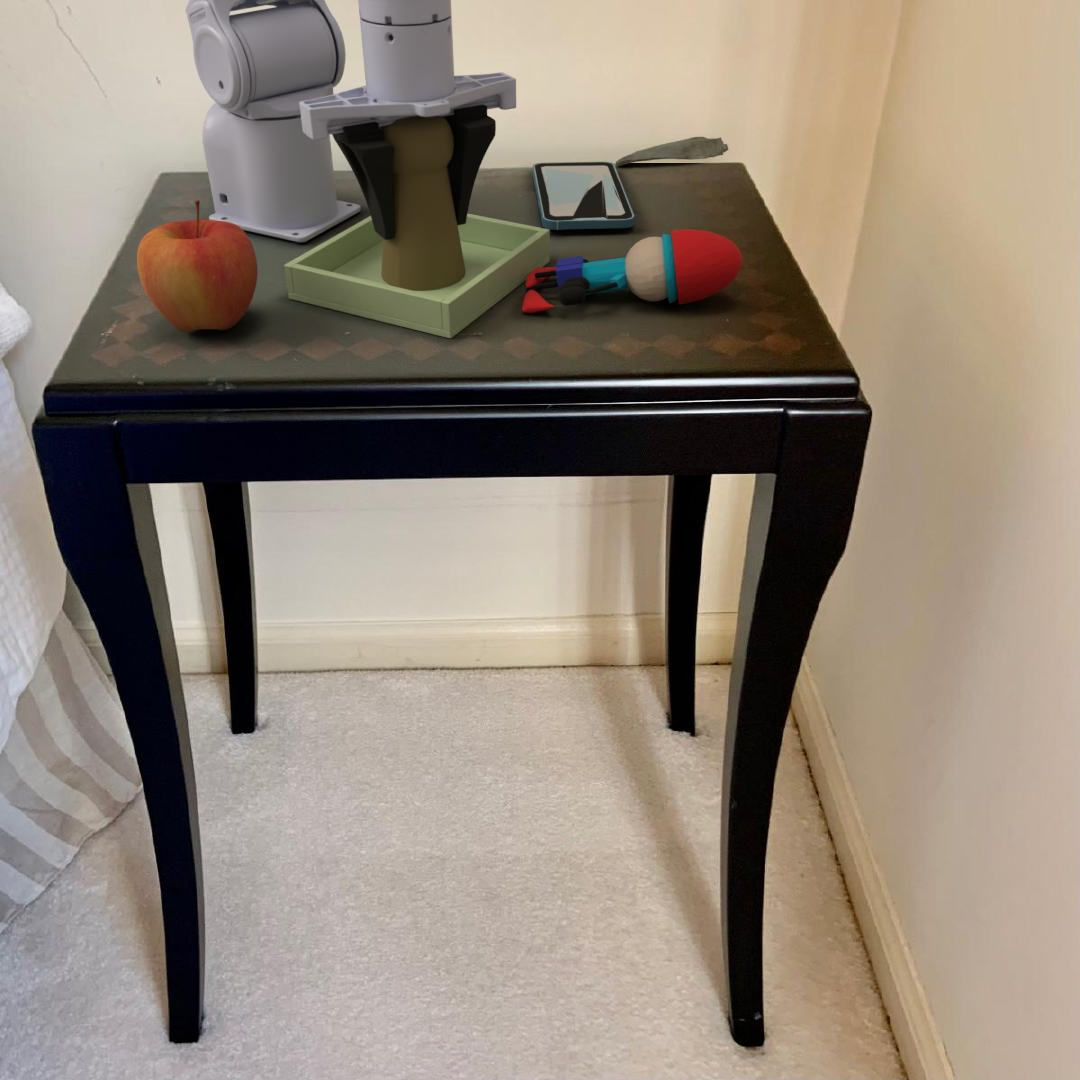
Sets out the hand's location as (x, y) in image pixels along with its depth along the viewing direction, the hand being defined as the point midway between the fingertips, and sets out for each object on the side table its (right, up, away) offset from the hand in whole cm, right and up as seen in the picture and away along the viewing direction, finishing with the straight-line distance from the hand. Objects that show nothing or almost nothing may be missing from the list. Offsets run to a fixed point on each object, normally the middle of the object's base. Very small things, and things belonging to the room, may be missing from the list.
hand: (420, 227), depth 76 cm
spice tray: (0, -3, +2) cm, 4 cm away
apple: (-14, -8, -4) cm, 16 cm away
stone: (+21, +12, +22) cm, 33 cm away
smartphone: (+12, +6, +15) cm, 20 cm away
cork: (0, -3, +2) cm, 4 cm away
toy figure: (+15, -5, 0) cm, 16 cm away
